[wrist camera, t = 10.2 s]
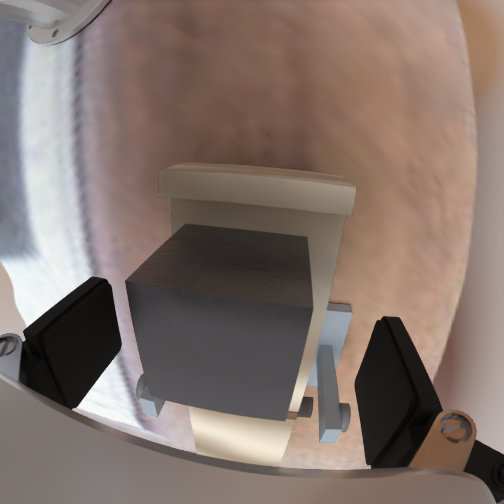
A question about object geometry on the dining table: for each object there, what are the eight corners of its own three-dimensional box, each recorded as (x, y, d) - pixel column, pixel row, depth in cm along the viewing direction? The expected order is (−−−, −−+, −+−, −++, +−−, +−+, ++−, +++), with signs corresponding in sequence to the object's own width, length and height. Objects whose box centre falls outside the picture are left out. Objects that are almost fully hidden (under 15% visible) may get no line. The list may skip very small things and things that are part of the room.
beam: (166, 161, 13) (137, 170, 10) (363, 179, 12) (381, 192, 9) (196, 461, 24) (189, 481, 21) (281, 474, 23) (279, 496, 21)
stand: (173, 183, 20) (93, 212, 11) (370, 203, 19) (427, 249, 10) (185, 408, 29) (158, 476, 20) (311, 426, 27) (309, 501, 18)
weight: (185, 223, 12) (125, 280, 7) (307, 236, 11) (313, 308, 7) (189, 320, 14) (150, 395, 9) (291, 335, 14) (285, 421, 9)
